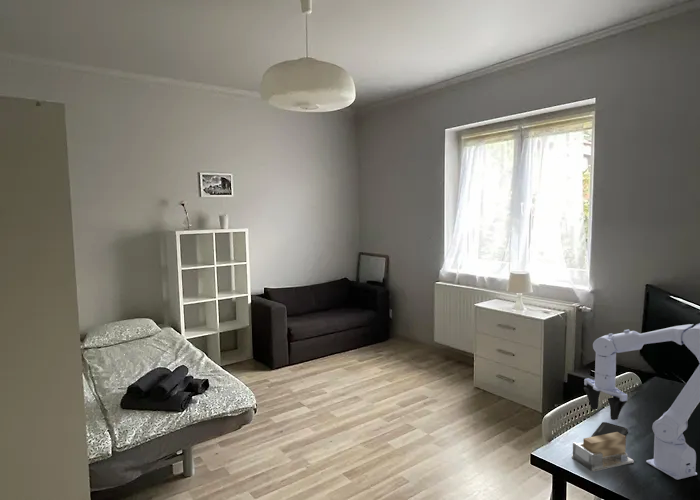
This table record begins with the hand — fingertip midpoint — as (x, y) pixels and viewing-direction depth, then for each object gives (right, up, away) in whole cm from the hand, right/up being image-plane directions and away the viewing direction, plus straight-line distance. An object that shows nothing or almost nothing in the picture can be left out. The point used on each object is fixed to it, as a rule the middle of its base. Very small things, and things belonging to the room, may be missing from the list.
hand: (604, 414), depth 140 cm
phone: (+6, -10, +6) cm, 13 cm away
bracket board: (-5, -11, -8) cm, 14 cm away
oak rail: (-5, -9, -9) cm, 13 cm away
